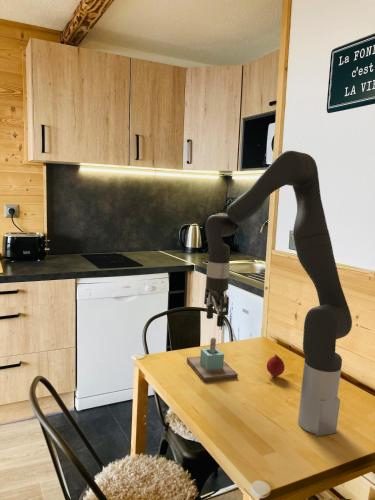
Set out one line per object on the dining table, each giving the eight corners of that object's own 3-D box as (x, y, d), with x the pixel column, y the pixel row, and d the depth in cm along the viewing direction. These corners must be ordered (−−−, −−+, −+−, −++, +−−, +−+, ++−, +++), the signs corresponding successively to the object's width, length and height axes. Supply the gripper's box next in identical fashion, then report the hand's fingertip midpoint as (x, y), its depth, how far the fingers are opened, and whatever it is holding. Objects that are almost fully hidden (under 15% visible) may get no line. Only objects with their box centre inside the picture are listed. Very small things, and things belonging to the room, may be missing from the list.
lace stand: (237, 378, 134) (240, 345, 132) (204, 382, 129) (206, 348, 128) (217, 358, 148) (219, 328, 147) (186, 361, 144) (188, 330, 142)
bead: (223, 368, 137) (224, 354, 136) (206, 370, 135) (207, 355, 134) (215, 361, 142) (216, 347, 142) (200, 362, 140) (201, 348, 140)
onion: (282, 373, 139) (284, 351, 138) (284, 381, 133) (286, 358, 132) (265, 372, 139) (267, 350, 138) (266, 379, 134) (268, 356, 133)
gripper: (237, 279, 129) (234, 328, 131) (219, 270, 142) (216, 315, 144) (216, 280, 126) (213, 330, 128) (199, 271, 139) (196, 316, 142)
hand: (214, 322), depth 136 cm, fingers open, 8 cm apart
